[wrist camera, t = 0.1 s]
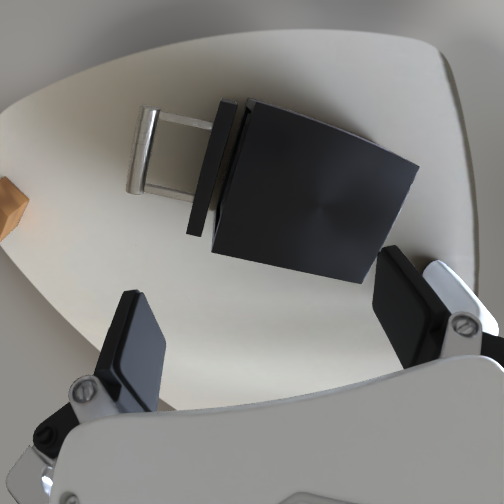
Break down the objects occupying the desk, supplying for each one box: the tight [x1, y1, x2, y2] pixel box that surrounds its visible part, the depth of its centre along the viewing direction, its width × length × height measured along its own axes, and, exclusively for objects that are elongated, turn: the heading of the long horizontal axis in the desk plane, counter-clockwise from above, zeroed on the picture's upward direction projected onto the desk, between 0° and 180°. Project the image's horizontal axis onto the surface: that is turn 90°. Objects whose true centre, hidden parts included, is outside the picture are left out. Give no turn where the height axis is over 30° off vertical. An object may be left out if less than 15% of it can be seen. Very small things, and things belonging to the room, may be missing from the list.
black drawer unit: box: [211, 98, 419, 284], centre depth 25 cm, size 14×12×8 cm
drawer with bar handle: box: [125, 98, 251, 237], centre depth 24 cm, size 18×10×6 cm, turn 73°
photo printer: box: [423, 260, 498, 336], centre depth 32 cm, size 10×4×12 cm, turn 56°
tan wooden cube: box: [0, 177, 29, 242], centre depth 25 cm, size 4×4×4 cm
